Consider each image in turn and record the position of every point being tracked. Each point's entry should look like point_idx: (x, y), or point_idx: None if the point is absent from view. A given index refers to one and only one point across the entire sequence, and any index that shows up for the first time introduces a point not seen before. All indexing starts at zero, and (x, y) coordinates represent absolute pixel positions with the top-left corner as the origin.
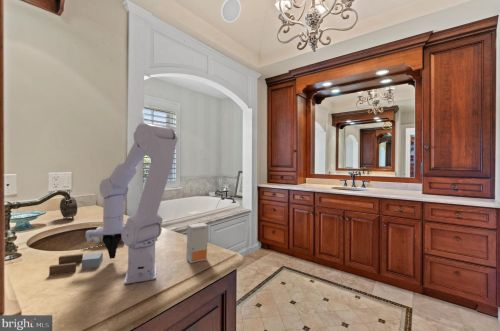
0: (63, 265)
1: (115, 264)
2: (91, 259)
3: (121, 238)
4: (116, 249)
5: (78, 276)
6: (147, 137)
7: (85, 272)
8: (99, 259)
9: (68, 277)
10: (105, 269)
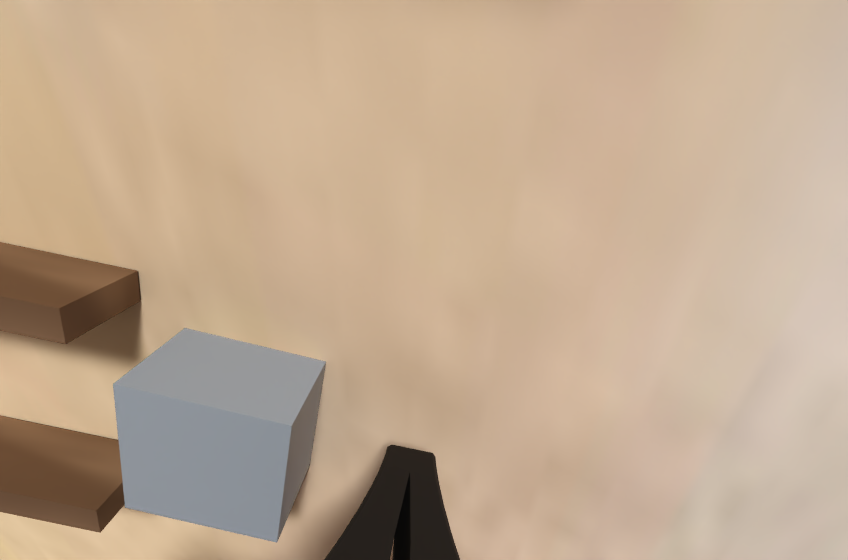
0: (15, 511)
1: None
2: (212, 520)
3: None
4: (442, 517)
5: (201, 530)
6: None
7: None
8: (286, 513)
9: (142, 513)
10: None
